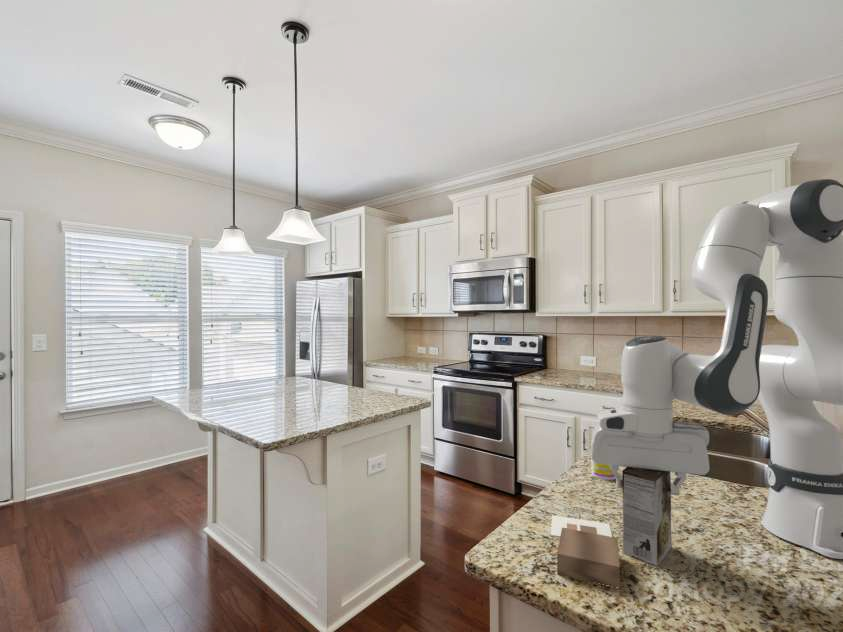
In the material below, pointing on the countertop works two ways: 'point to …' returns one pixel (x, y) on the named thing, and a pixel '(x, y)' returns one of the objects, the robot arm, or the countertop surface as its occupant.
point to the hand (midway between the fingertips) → (646, 490)
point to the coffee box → (646, 513)
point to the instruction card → (578, 526)
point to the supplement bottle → (601, 471)
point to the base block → (588, 557)
